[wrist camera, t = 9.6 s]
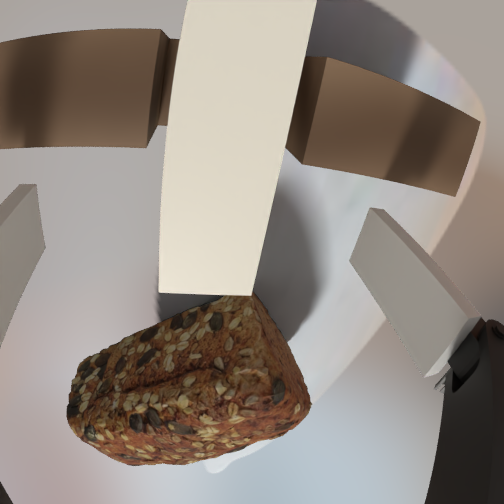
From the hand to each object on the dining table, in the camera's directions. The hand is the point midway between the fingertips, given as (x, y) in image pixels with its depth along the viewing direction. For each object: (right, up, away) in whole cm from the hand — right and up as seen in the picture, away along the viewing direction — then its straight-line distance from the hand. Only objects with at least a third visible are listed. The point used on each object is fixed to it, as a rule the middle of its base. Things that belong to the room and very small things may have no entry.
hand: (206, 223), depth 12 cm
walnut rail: (0, +8, +4) cm, 9 cm away
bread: (-5, -10, +16) cm, 20 cm away
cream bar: (0, +8, +4) cm, 9 cm away
